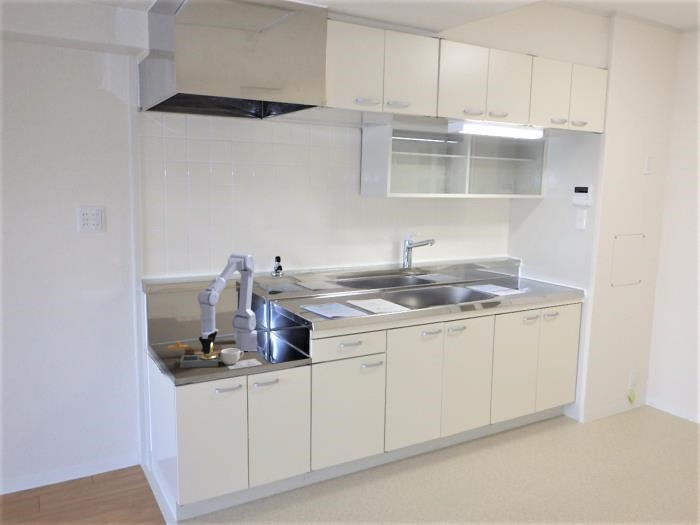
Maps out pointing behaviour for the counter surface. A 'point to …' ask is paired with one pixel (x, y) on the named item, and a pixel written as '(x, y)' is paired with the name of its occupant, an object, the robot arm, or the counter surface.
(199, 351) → the socket block
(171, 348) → the latch bar
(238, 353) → the teacup
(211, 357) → the brass peg
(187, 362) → the rack
